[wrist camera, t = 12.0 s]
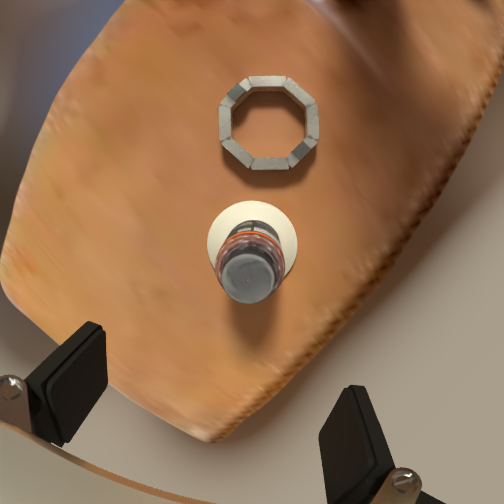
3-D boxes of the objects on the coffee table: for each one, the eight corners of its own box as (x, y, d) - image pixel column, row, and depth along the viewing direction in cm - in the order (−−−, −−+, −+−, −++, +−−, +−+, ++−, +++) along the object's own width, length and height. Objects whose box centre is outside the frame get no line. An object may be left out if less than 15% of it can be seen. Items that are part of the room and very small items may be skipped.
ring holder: (266, 65, 28) (266, 57, 26) (334, 125, 30) (339, 121, 27) (203, 127, 30) (197, 123, 28) (270, 189, 32) (270, 190, 29)
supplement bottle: (251, 281, 34) (243, 330, 23) (216, 242, 33) (190, 276, 22) (292, 247, 33) (303, 284, 22) (256, 207, 32) (249, 224, 21)
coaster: (250, 181, 32) (250, 181, 31) (315, 244, 33) (315, 245, 32) (190, 246, 34) (189, 247, 33) (253, 303, 35) (253, 305, 35)
